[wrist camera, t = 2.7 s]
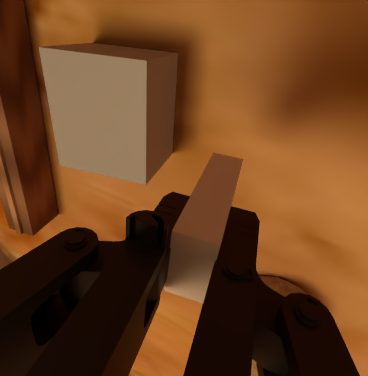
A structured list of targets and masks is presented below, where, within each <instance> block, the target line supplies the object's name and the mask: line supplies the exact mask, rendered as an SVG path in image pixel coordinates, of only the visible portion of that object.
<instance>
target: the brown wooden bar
mask: <svg viewBox="0 0 368 376" xmlns="http://www.w3.org/2000/svg"><path fill="white" fill-rule="evenodd" d="M0 197H1V201H2V204H3V208H4V211H5V215H6V218H7V222H8V225H9V228H11V229H14V230H16V233H18V234H22V233H26V234H29V235H32V236H33V235H35V234H36V233H37V232H38V231H39V230H40V229H42V228H43V227H44V226H45V225H46V224H48V223H49V222H50V221H51V220H52V219H53V218H55V217H56V216H57V215H58V211H57V204H56V198H55V192H54V186H53V180H52V173H51V167H50V161H49V155H48V148H47V142H46V136H45V130H44V123H43V117H42V111H41V105H40V98H39V92H38V86H37V80H36V74H35V67H34V61H33V55H32V49H31V42H30V36H29V30H28V24H27V17H26V11H25V5H24V0H0Z"/></svg>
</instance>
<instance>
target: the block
mask: <svg viewBox="0 0 368 376" xmlns="http://www.w3.org/2000/svg"><path fill="white" fill-rule="evenodd" d="M39 52H40V57H41V63H42V69H43V74H44V80H45V86H46V91H47V97H48V102H49V108H50V114H51V119H52V125H53V131H54V136H55V142H56V147H57V153H58V159H59V164H60V166H63V167H68V168H72V169H77V170H81V171H86V172H90V173H95V174H99V175H103V176H108V177H112V178H117V179H121V180H126V181H130V182H135V183H139V184H143V185H146V184H147V183H148V182H149V181H150V180H151V178H152V177H153V176H154V175H155V174H156V172H157V171H158V170H159V169H160V168H161V166H162V165H163V164H164V163H165V162H166V160H167V159H168V158H169V157H170V156H171V154H172V151H173V134H174V118H175V101H176V85H177V68H178V53H175V52H167V51H158V50H150V49H141V48H133V47H124V46H115V45H107V44H98V43H85V44H72V45H59V46H46V47H39Z"/></svg>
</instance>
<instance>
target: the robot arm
mask: <svg viewBox="0 0 368 376" xmlns="http://www.w3.org/2000/svg"><path fill="white" fill-rule="evenodd" d="M242 162H243V159H239V158H235V157H230V156H226V155H222V154H217V153H213V154H212V156H211V158H210V160H209V162H208V164H207V166H206V168H205V169H204V171H203V173H202V175H201V177H200V179H199V181H198V183H197V185H196V186H195V188H194V190H193V192H192V194H191V196H187V195H183V194H179V193H175V192H171V193H169V194H167V195H166V196H164V197H163V198H162V200H161V201H160V203H159V205H158V206H157V207H156V208H155V211H148V210H143V211H137V212H134V213H131V214H130V215H129V216H128V217H126V239H125V240H124V241H115V242H112V241H98V237H97V234H96V233H95V232H94V231H92V230H90V229H87V228H80V227H76V228H71V229H67V230H65V231H63V232H60V233H59V234H57V235H56V236H54V237H52V238H51V239H49V240H48V241H46V242H44V243H43V244H41V245H39V246H38V247H36V248H35V249H33V250H31V251H30V252H28V253H27V254H25V255H23V256H22V257H20V258H18V259H17V260H15V261H14V262H12V263H10V264H9V265H8V266H5V267H4V268H2V269H1V270H0V376H128V375H129V373H130V370H131V368H132V366H133V363H134V361H135V359H136V356H137V354H138V352H139V349H140V347H141V345H142V342H143V340H144V338H145V335H146V333H147V331H148V328H149V326H150V324H151V321H152V319H153V317H154V314H155V312H156V310H157V308H158V305H159V301H160V294H161V291H162V289H163V287H164V285H165V289H164V291H167V292H170V293H173V294H176V295H179V296H182V297H185V298H188V299H191V300H194V301H197V302H200V303H203V306H202V310H201V313H200V317H199V320H198V324H197V328H196V331H195V335H194V339H193V342H192V346H191V350H190V353H189V357H188V361H187V364H186V368H185V372H184V375H183V376H251V368H252V359H253V360H254V361H255V362H256V365H257V371H258V376H360V375H359V373H358V371H357V369H356V366H355V364H354V362H353V360H352V358H351V355H350V353H349V351H348V349H347V347H346V344H345V342H344V340H343V338H342V336H341V334H340V331H339V329H338V327H337V325H336V323H335V320H334V318H333V316H332V315H331V313H330V312H329V310H328V309H327V308H326V307H325V306H324V305H323V304H322V303H321V302H320V301H319V300H317V299H315V298H313V297H312V296H310V295H307V294H303V293H291V294H289V295H287V296H285V297H284V296H283V295H281V294H279V293H278V292H276V291H274V290H273V289H271V288H270V287H268V286H267V285H266V284H265V283H264V282H263V281H262V280H261V278H260V277H259V276H258V273H257V271H256V257H257V245H258V234H259V222H260V221H259V219H258V217H257V215H256V213H255V212H251V211H247V210H243V209H240V208H236V207H232V206H231V204H232V201H233V197H234V193H235V189H236V185H237V181H238V177H239V173H240V169H241V165H242Z"/></svg>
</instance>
